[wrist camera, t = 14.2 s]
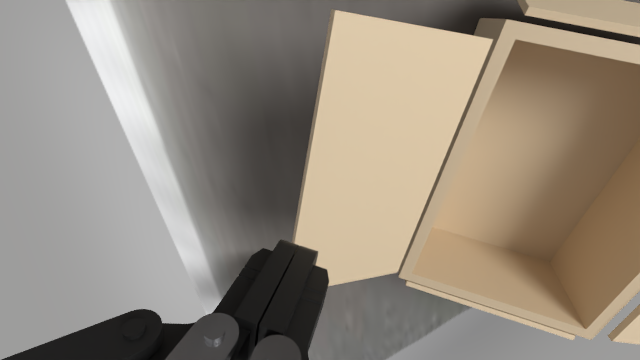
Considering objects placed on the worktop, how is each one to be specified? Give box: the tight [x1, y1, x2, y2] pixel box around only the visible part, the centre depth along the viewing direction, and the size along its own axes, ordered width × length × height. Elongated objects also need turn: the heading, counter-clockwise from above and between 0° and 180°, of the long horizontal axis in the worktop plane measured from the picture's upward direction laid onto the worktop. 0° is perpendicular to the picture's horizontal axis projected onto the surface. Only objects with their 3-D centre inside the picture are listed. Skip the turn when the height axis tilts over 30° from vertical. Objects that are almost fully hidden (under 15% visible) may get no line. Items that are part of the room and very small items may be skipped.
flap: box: [292, 9, 493, 286], centre depth 19 cm, size 17×1×9 cm
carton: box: [399, 0, 640, 340], centre depth 23 cm, size 23×14×8 cm, turn 170°
